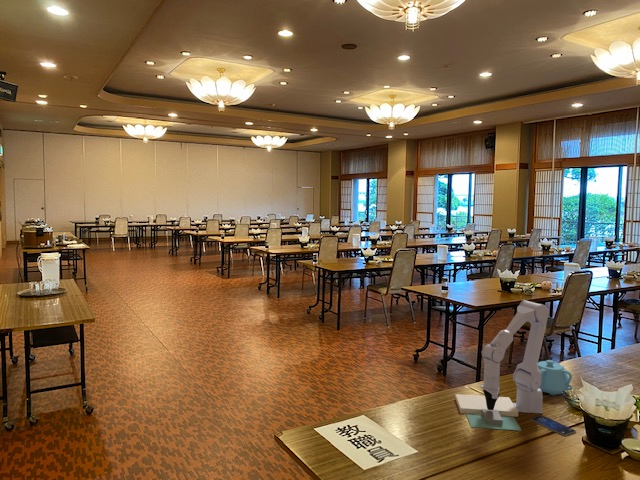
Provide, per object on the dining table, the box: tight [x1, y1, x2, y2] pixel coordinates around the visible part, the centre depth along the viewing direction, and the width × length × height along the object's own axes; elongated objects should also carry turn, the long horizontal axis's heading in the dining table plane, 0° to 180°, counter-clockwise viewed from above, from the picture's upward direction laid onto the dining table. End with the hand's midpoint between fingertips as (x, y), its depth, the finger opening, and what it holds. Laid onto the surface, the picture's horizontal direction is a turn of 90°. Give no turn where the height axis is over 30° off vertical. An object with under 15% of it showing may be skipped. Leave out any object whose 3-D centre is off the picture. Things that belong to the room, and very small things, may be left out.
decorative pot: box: [537, 359, 573, 396], centre depth 216 cm, size 16×16×14 cm
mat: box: [465, 413, 522, 432], centre depth 185 cm, size 18×11×1 cm, turn 83°
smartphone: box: [530, 414, 577, 437], centre depth 183 cm, size 7×1×15 cm
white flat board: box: [454, 393, 519, 418], centre depth 198 cm, size 22×14×2 cm, turn 83°
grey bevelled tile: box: [481, 409, 503, 425], centre depth 187 cm, size 6×9×2 cm, turn 172°
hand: (490, 409), depth 190 cm, fingers closed
